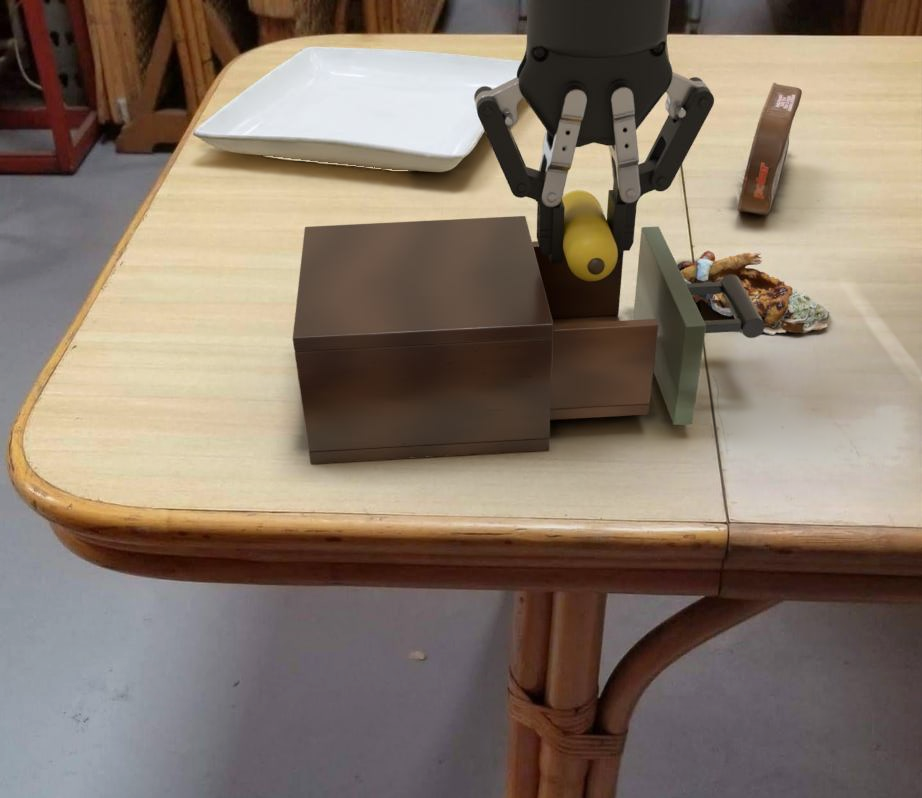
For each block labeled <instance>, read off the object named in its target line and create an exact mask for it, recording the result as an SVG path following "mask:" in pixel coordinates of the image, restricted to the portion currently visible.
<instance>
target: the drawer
mask: <svg viewBox="0 0 922 798" xmlns="http://www.w3.org/2000/svg"><path fill="white" fill-rule="evenodd" d="M639 240H640V241H639V249H638V250H639V252H638V262H637V272H636V273H637V274H636V284H635V295H634V306H633V317H632V319H625V320H620V317H619V314H620V313H619V312H620V301H621V299H620V298H621V288H622V277H623V275H622V274H623V264H624V252H625V251H623V254H622V260H617V262H616V265H615V267H614V269H613V270H612V272H611V273H610V274H609V275H607V276H606V277H605V278H603V279H601V280H598V281H585V280H582V279H580V278H578V277H577V276H576V275H574V273H573V272H572V271H571V269H570V268H569V266H568V263H567V260H566V256H565V253H564V250H563V259H562V263H555V264H550V261H549V257H548V255H542V253H541V250H540V248H539V244H538V241H537V240H536V241H534V240H532V243H533V247H534V251H535V255H536V259H537V263H538V266H539V270H540V274H541V278H542V282H543V286H544V290H545V293H546V297H547V301H548V305H549V309H550V313H551V316H552V320H553V324H554V331H553V358H552V385H551V412H550V421H554V420H555V421H556V420H572V419H573V420H574V419H590V418H607V417H608V418H609V417H627V416H643V415H649V414H650V408H651V407H650V406H651V397H652V388H653V380H654V379H653V378H654V377H655V379H656V382H657V385H658V387H659V390H660V393H661V395H662V398H663V401H664V403H665V406H666V408H667V411H668V414H669V417H670V419H671V422H672V425H674V426H680V425H681V426H682V425H692V424H693V420H694V414H695V407H696V400H697V393H698V384H699V377H700V371H701V365H702V357H703V351H704V343H705V337H706V334H715V333H716V334H717V333H735V332H737V333H738V332H741V333H742V334H743V336H744V337H745V338H748V339H755V338H758V337H759V336H760V335H761V334H762V333H764V332H763V330H764V326H765V325H764V322H763V320H762V318H761V317H760V315H759V313H758V311H757V309H756V308H755V306H754V304H753V302H752V301H751V299H750V297H749V295H748V293H747V292H746V290H745V288H744V286H743V285H742V283H741V281H740V279H739V278H738V277H737V276H736V275H727V276H725V277H723V278H722V279H721V281H720V282H712V283H692V284H686V283H685V281H684V279H683V276H682V274H681V272H680V270H679V268H678V266H677V265H678V264H677V262H676V260H675V257H674V255H673V253H672V252H671V249H670V247H669V245H668V243H667V240H666V238H665V237H664V235H663V233H662V231H661V229H660V226H642V227H641V228H640V239H639ZM721 293H722V295H723V297H724V298H725V300H726V302H727V304H728V306H729V308H730V310H731V312H732V314H733V315H732V316H733V319H717V320H716V319H715V320H704V318H703V316H702V315H701V312H700V310H699V308H698V305H697V304H696V303H695V302H694V300H693V297H692V295H705V294H721Z"/></svg>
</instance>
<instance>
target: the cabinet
mask: <svg viewBox="0 0 922 798" xmlns="http://www.w3.org/2000/svg"><path fill="white" fill-rule="evenodd" d="M302 240H303V241H302V249H301V258H300V267H299V276H298V285H297V294H296V304H295V313H294V322H293V331H292V344H293V350H294V359H295V365H296V366H295V367H296V372H297V380H298V386H299V393H300V394H299V395H300V401H301V407H302V416H303V420H304V421H303V422H304V429H305V434H306V442H307V448H308V449H307V450H308V456H309V463H310V464H311V465H317V464H318V465H319V464H332V463H335V464H336V463H352V462H367V461H369V460H371V461H385V460H386V461H388V460H405V459H404V458H406V459H411V458H410V457H424V458H427V457H426V456H441V457H447V456H446V455H449V456H448V457H451V456H450V455H459V456H472V455H471V454H477V455H492V454H493V453H494V454H503V453H502V452H505V453H504V454H508V453H509V454H510V453H527V452H544V451H546V450H547V451H550V440H551V439H550V435H551V420H550V412H551V385H552V358H553V331H554V324H553V320H552V316H551V313H550V309H549V305H548V301H547V297H546V293H545V290H544V286H543V282H542V278H541V274H540V270H539V266H538V263H537V259H536V255H535V251H534V247H533V243H532V242H533V240H532V237H531V232H530V229H529V225H528V220H527V217H526V215H517V216H497V217H495V216H494V217H474V218H457V219H455V218H454V219H436V220H435V219H433V220H416V221H415V220H414V221H413V220H411V221H395V222H392V221H391V222H373V223H355V224H353V223H352V224H336V225H335V224H334V225H314V226H304V231H303V238H302ZM547 451H546V452H547ZM494 454H493V455H494Z"/></svg>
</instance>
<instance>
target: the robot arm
mask: <svg viewBox="0 0 922 798" xmlns="http://www.w3.org/2000/svg"><path fill="white" fill-rule="evenodd" d="M526 2H527V3H526V45H525V52H524V55H523V58H522V60H521V61H522V62H521V64H520V66H519V68H518V71H517V77H516V78H514V79H512V80H510V81H508V82H506V83H504V84H502V85H500V86H498V87H496V88H494V89H492V88H490V87H487V86H483V87H480V88H479V89H478V90H477V91H476V92H475V95H474V100H475V105H476V109H477V114H478V117H479V119H480V121H481V124H482V126H483V128H484V130H485V131H484V133H485V135H486V137H487V139H488V143H489V144H490V146H491V148H492V150H493V153H494V155H495V157H496V160H497V162H498V164H499V167H500V168H501V171H502V173H503V175H504V178H505V180H506V183H507V185H508V186H509V189H510V191H511V194H512V195H513V196H515V197H516V198H519V199H522V198H529V199H531V200H534V201H536V203H537V205H536V241H538V244H539V248H540V250H541V253H542V255H548V257H549V261H550V264H555V263H562V259H563V235H564V211H565V207H564V204H563V201H562V197H563V196H564V191H565V188H566V184H567V183H566V181H567V178H568V175H569V171H570V170H571V168H572V164H573V161H574V155H575V152H576V148H581V147H584V146H587V145H591V144H597V145H598V144H599V145H603V146H607V147H608V150H609V156H610V164H611V172H612V173H611V174H612V181H613V185H612V189H608V194H607V206H606V207H607V209H606V220H607V223H608V225H609V228H610V230H611V233H612V235H613V238H614V240H615V243H616V246H617V250H618V258H617V260H622V254H623V255H624V253H623V251H624V252H627V251H628V252H629V251H630V250H631V249H632V246H633V244H634V239H635V229H636V227H635V226H636V217H637V216H636V215H637V206H638V202H639V200H640V199H641V198H642V197H643V196H644V195H645V194H648V193H651V192H652V191H656V192H665V191H666V190H668V189H669V188H670V187H671V185H672V183H674V179H675V178H676V176H677V174H678V172H679V170H680V169H681V167H682V165H683V163H684V161H685V159H686V157H687V156H688V153H689V151H690V149H691V148H692V146H693V144H694V142H695V141H696V138H697V137H698V135H699V133H700V131H701V129H702V127H703V125H704V123H705V122H706V119H707V117H708V116H709V114H710V112H711V111H712V108H713V107H714V104H715V97H714V95H713V93H712V91H711V89H710V88H709V86H708V85H707V84H706V83H705V82H704V81H703V79H702V78H700V77H697V76H692V77H690V78H687V77H685V76H683V75H681V74H679V73H676V72H673V67H672V64H671V62H670V60H669V57H668V53H667V40H668V30H669V20H670V9H671V0H526ZM665 94H666V100H665V104H664V106H665V110H666V112H667V114H668V115H667V116H666V117H667V118H666V119H665V121H664V124H663V125H662V126H661V130H660V131H659V133H658V135H657V137H656V138H655V140H654V142H653V145H652V146H651V148H650V150H649V153H648V154H647V157H646V158H645V160H644V161H643V162H641V163H640V157H639V156H640V155H639V146H638V138H637V137H638V136H637V130H638V129H639V127H640V126H641V125H642V124H643V122H644V121H645V119H646V118H647V117H648V115H650V113H651V112H652V110H653V109H654V108H655V106H656V105H657V104H658V103H659V101H660V100H661V99H662V97H663V96H664V95H665ZM522 100H525V101H526V103H527V104H528V106H529V107H530V109H531V110H532V111H533V113H534V115H536V117H537V119H538V120H539V121H540V122H541V124H542V125H543V127H544V128H545V131H544V136H543V141H542V154H541V159H540V164H539V169H535V168H532V167H529V166H527V165H526V163H525V160H524V158H523V155H522V153H521V151H520V149H519V146H518V144H517V142H516V139H515V137H514V135H513V133H512V130H511V128H513V127H515V125H516V124H517V123H518V120H519V113H518V107H519V103H520V102H521V101H522Z"/></svg>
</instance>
